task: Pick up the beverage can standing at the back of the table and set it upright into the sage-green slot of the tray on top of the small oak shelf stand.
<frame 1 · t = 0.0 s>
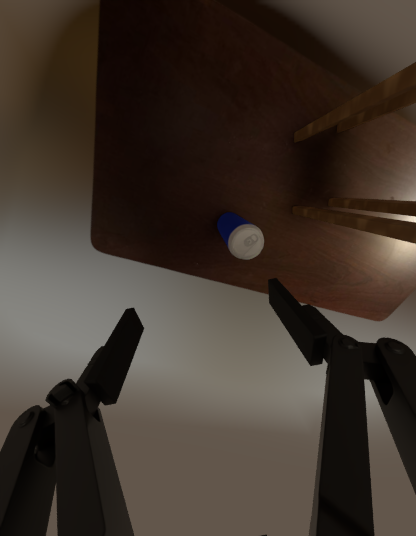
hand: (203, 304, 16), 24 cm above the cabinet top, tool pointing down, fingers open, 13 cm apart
shelf: (316, 172, 33), on the cabinet top
beverage can: (228, 223, 36), on the cabinet top
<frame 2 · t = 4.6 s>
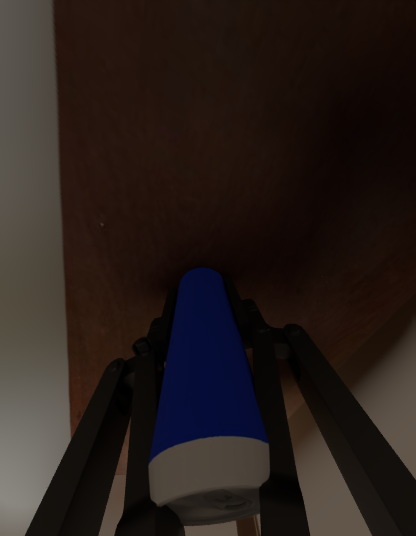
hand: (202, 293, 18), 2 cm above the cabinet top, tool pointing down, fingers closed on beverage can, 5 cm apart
shelf: (264, 371, 27), on the cabinet top
beverage can: (201, 284, 19), on the cabinet top, touching gripper
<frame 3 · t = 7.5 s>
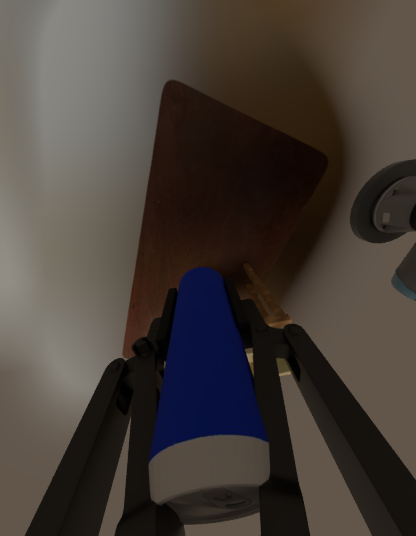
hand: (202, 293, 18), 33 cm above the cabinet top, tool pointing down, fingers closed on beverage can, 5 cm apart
tray: (252, 346, 32), resting on shelf
shelf: (227, 279, 55), on the cabinet top
beverage can: (201, 283, 19), point 31 cm above the cabinet top, touching gripper
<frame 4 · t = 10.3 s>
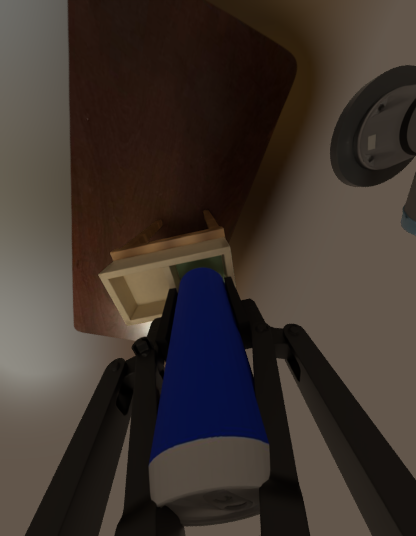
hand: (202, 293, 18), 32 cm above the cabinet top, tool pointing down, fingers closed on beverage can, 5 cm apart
tray: (177, 274, 23), resting on shelf
shelf: (186, 232, 46), on the cabinet top
beverage can: (201, 284, 19), point 30 cm above the cabinet top, touching gripper
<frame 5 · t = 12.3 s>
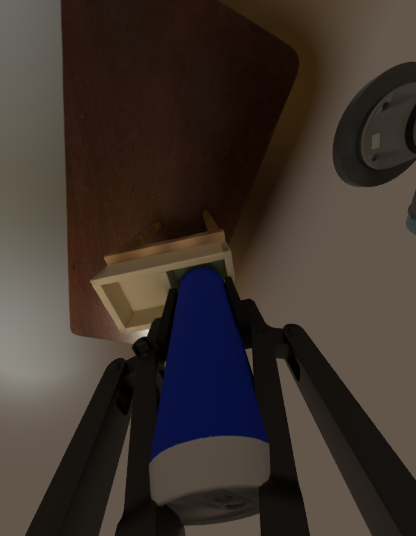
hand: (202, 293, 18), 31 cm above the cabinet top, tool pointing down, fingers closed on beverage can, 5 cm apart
tray: (174, 279, 22), resting on shelf
shelf: (185, 233, 45), on the cabinet top
beverage can: (201, 283, 19), point 29 cm above the cabinet top, touching gripper
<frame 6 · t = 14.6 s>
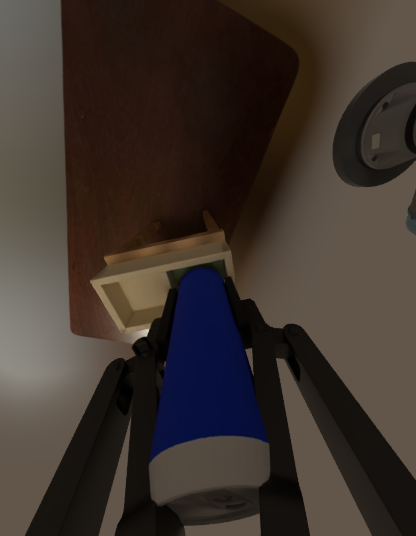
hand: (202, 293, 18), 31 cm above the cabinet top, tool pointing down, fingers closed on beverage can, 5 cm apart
tray: (174, 279, 22), resting on shelf
shelf: (185, 233, 45), on the cabinet top
beverage can: (201, 284, 19), point 29 cm above the cabinet top, touching gripper
when the fingers open (31 cm above the cabinet top, at t = 16.0 s): beverage can drops 2 cm, resting on tray.
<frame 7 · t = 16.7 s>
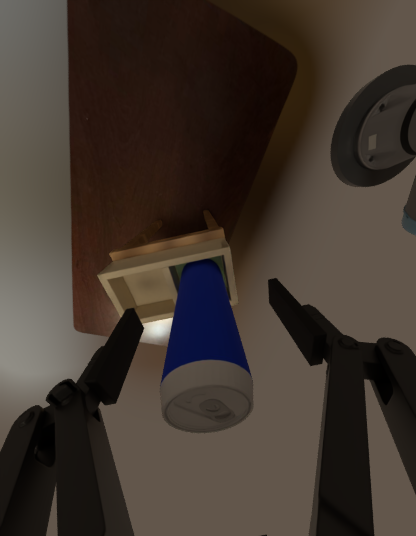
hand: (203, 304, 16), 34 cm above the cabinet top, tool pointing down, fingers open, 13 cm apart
tray: (176, 275, 23), resting on shelf
shelf: (186, 232, 46), on the cabinet top
beverage can: (201, 273, 22), point 27 cm above the cabinet top, touching tray
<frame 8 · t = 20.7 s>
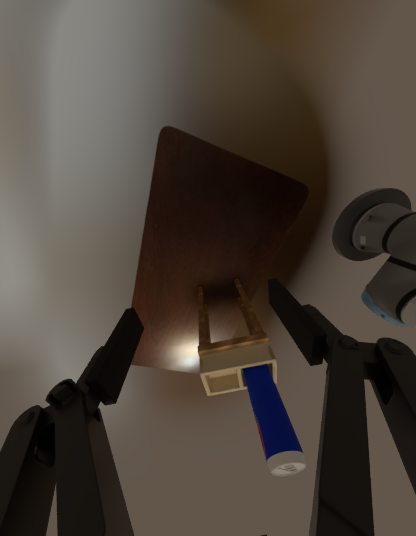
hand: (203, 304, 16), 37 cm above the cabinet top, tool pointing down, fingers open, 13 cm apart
tray: (235, 360, 36), resting on shelf
shelf: (220, 293, 60), on the cabinet top
beverage can: (252, 361, 35), point 27 cm above the cabinet top, touching tray
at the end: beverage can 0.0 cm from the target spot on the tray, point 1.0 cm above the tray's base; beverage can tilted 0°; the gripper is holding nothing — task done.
